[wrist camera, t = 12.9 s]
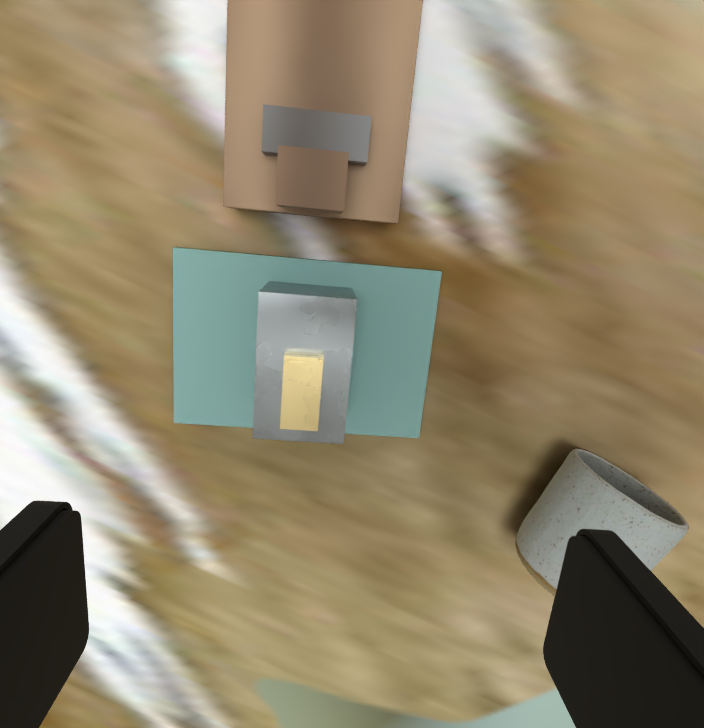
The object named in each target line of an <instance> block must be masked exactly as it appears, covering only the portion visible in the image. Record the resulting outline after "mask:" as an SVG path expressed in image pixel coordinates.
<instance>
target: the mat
mask: <svg viewBox="0 0 704 728" xmlns="http://www.w3.org/2000/svg"><path fill="white" fill-rule="evenodd" d="M441 275H442V271H437V270H426V269H415V268H404V267H392V266H381V265H370V264H359V263H348V262H336V261H325V260H314V259H303V258H292V257H281V256H269V255H258V254H247V253H236V252H225V251H213V250H202V249H191V248H180V247H173V364H174V423H185V424H201V425H217V426H233V427H249V428H253V413H254V388H255V364H256V340H257V316H258V292H259V291H260V290H261V289H262V288H263V287H264V286H265V285H266V284H267V283H268V282H269V281H275V282H287V283H299V284H310V285H322V286H334V287H345V288H352V289H353V291H354V293H355V295H356V298H357V310H356V321H355V331H354V342H353V353H352V363H351V374H350V384H349V395H348V405H347V416H346V426H345V434H360V435H376V436H392V437H408V438H419V435H420V427H421V420H422V413H423V406H424V398H425V391H426V384H427V377H428V369H429V362H430V355H431V348H432V340H433V333H434V326H435V318H436V311H437V304H438V297H439V289H440V282H441Z"/></svg>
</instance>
